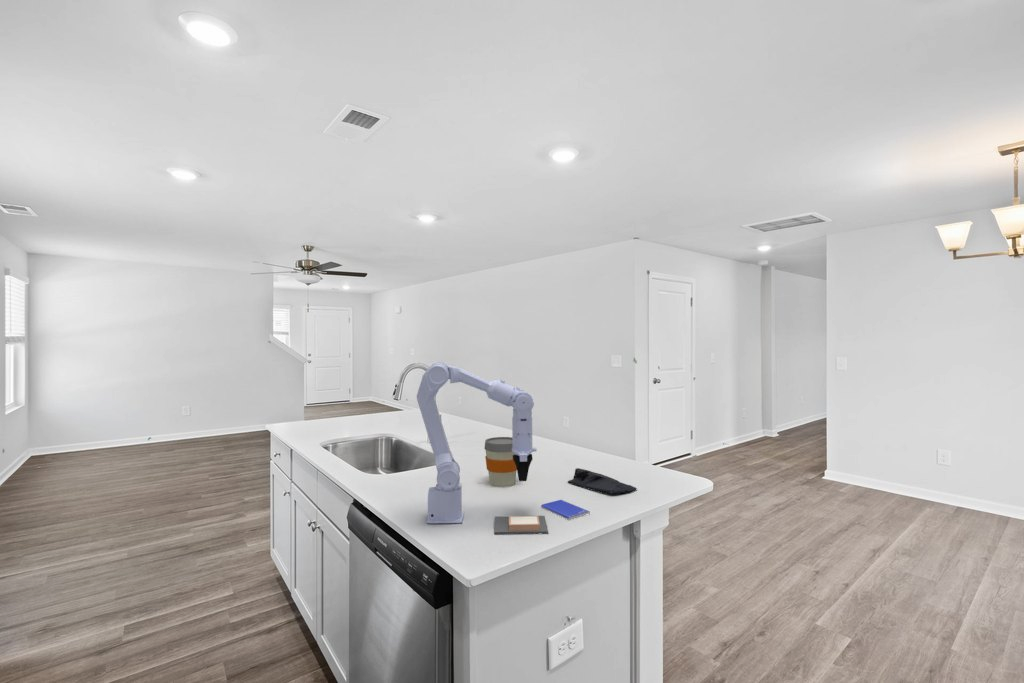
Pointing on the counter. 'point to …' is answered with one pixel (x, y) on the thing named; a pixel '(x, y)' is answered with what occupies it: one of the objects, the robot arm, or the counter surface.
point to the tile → (524, 523)
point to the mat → (503, 528)
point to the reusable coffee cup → (500, 461)
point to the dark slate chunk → (599, 482)
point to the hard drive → (565, 509)
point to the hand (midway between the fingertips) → (522, 480)
